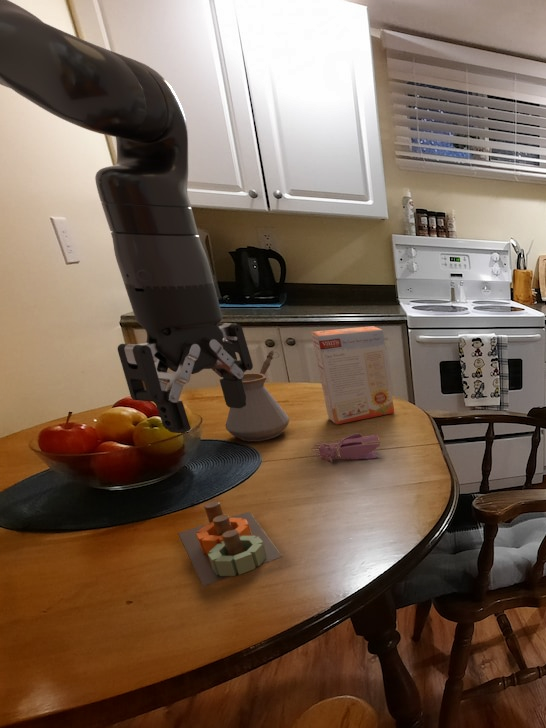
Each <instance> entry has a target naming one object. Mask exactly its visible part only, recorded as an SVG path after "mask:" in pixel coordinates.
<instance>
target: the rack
mask: <svg viewBox="0 0 546 728" xmlns="http://www.w3.org/2000/svg"><path fill="white" fill-rule="evenodd" d="M203 508H204V510H205V514H206V516H207V520H208V522H209V523H208V524H210V523H211V522H213V523H214V526H215V529H216V532H217V535H218V536H221V535H222V538H223V541H224V544H225V547H226V550H227V553H228V556H234V555H237V554H240V553H243V552H245V551H244V548H243V545H242V542H241V538H240V535H239V532H238V531H237V530H233V529H232V526H231V523H230V519H229V518H243V519H246V521H247V522H248V524H249V527H250V531H251V534H252V536H256V537H259V538H260V539H261V540H262V541H263V544H264V547H265V551H266V555H267V556H266V559H265V560H264V561H263V562H262V563H261V565H260V566H262V565H264V564H268V563H270V562H272V561H275V560H278V559H281V558H283V557H284V556H283V555H282V553H281V552H280V551H279V549H278V548H277V547H276V546H275V544H274V542H273V541H272V540H271V538H269V536H268V535H267V533H266V532H265V530H264V529H263V528H262V526H261V525H260V524H259V522H258V521H257V520H256V518H255V517H254V515H253V514H252V512H250V511H245V512H243V513H239V514H237V515H233V516H229V515H227V514H224V512H223V509H222V506H221V503H220V501H217V500H215V501H210V502H207V503H205V505H204V506H203ZM205 525H206V524H203V525H200V526H196V527H193V528H189V529H186V530H184V531H183V530H182V531H179V532H177V534H178V536H179V539H180V541H181V543H182V545H183V547H184V550H185V551H186V553H187V555H188V557H189V560H190V562H191V564H192V566H193V568H194V570H195V572H196V574H197V576H198V579H199V581H200V583H201V585H202V587H205V586H208V585H211V584H214V583H216V582H219V581H222V580H224V579H227V578H230V577H231V576H220V575H216V573H215V572H214V570H213V568H212V565H211V562H210V560H209V557H208V555H206V553H203V551H202V549H201V547H200V544H199V541H198V538H197V535H196V534H197V531H199V530H200V529H201V528H203V527H204V526H205ZM257 567H258V566H255V568H257ZM236 575H239V574H238V573H237V574H236Z"/></svg>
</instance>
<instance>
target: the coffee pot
mask: <svg viewBox="0 0 546 728" xmlns="http://www.w3.org/2000/svg"><path fill="white" fill-rule="evenodd" d="M274 353H275V354H277V355H278V356H276V357H275V356H274ZM278 358H280V353H278V352H277V351H274V350H270V351H269V352H267V355H266V359H265V360H264V361H263V363H262V366H261V369H260V371H259V373H244V376H243V378H242V383H243V387H244V391H245V395H246V406H245V407H243V408H230V407H229V410H228V414H227V419H226V423H225V430H226V431H227V432H229V434H230V435H232V436H234V437H236V438H239V439H240V440H242V441H245V442H261V441H266V440H267V441H268V440H272V439H274V438H276V437H279V436H280V435H282V433H283V431H284V430H285V429H287V427H288V426H289V423H290V417H289V415H288V414H287V412H285V410H284V408H283V407H282V406H281V405H280V404H279V402H278V401H277V400H276V398H274V396H273V395H272V394H271V392H270V391H269V390H268V389H267V388H266V387H265V382H266V381H267V376H266V373H267V372H268V369H269V367H270V366H271V361H272V360H274V359H278Z"/></svg>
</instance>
